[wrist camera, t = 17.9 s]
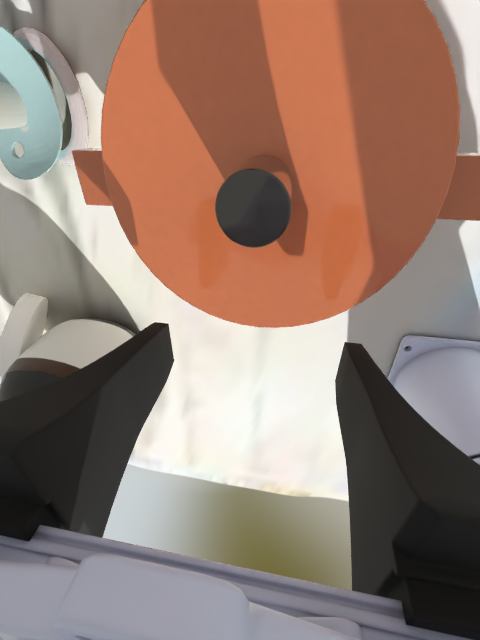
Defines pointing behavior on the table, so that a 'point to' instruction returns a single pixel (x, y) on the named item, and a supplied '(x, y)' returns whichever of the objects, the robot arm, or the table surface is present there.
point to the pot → (460, 204)
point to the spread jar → (50, 346)
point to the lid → (279, 149)
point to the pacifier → (36, 105)
